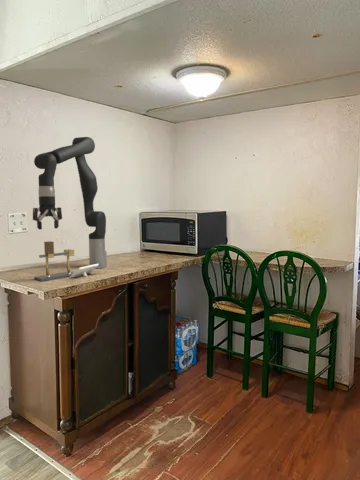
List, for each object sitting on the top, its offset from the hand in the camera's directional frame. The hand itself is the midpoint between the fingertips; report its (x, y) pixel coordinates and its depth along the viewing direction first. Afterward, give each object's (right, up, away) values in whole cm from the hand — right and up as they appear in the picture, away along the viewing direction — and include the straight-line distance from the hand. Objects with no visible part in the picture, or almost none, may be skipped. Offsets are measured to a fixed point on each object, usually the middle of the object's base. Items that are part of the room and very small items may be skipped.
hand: (48, 228), depth 183 cm
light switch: (+15, -25, +12) cm, 31 cm away
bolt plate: (+1, -25, +8) cm, 26 cm away
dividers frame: (+2, -23, +7) cm, 24 cm away
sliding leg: (0, -23, +3) cm, 23 cm away
